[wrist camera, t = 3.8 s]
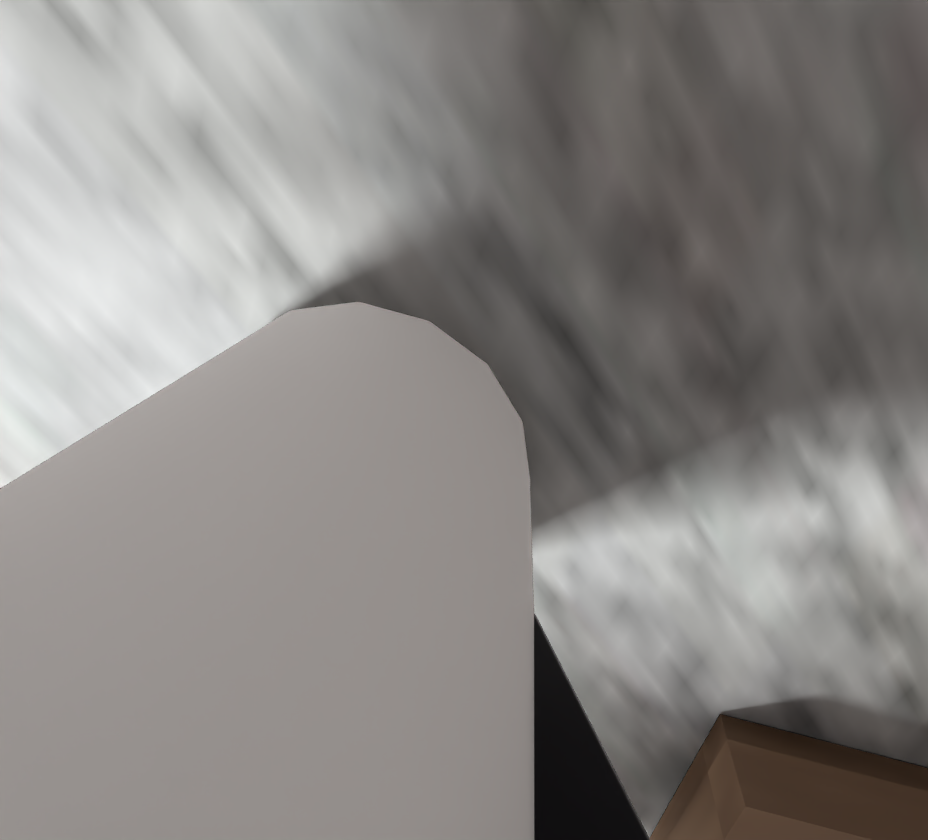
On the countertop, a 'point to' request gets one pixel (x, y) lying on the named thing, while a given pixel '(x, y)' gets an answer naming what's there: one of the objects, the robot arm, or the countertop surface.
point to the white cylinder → (278, 601)
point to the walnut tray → (793, 790)
